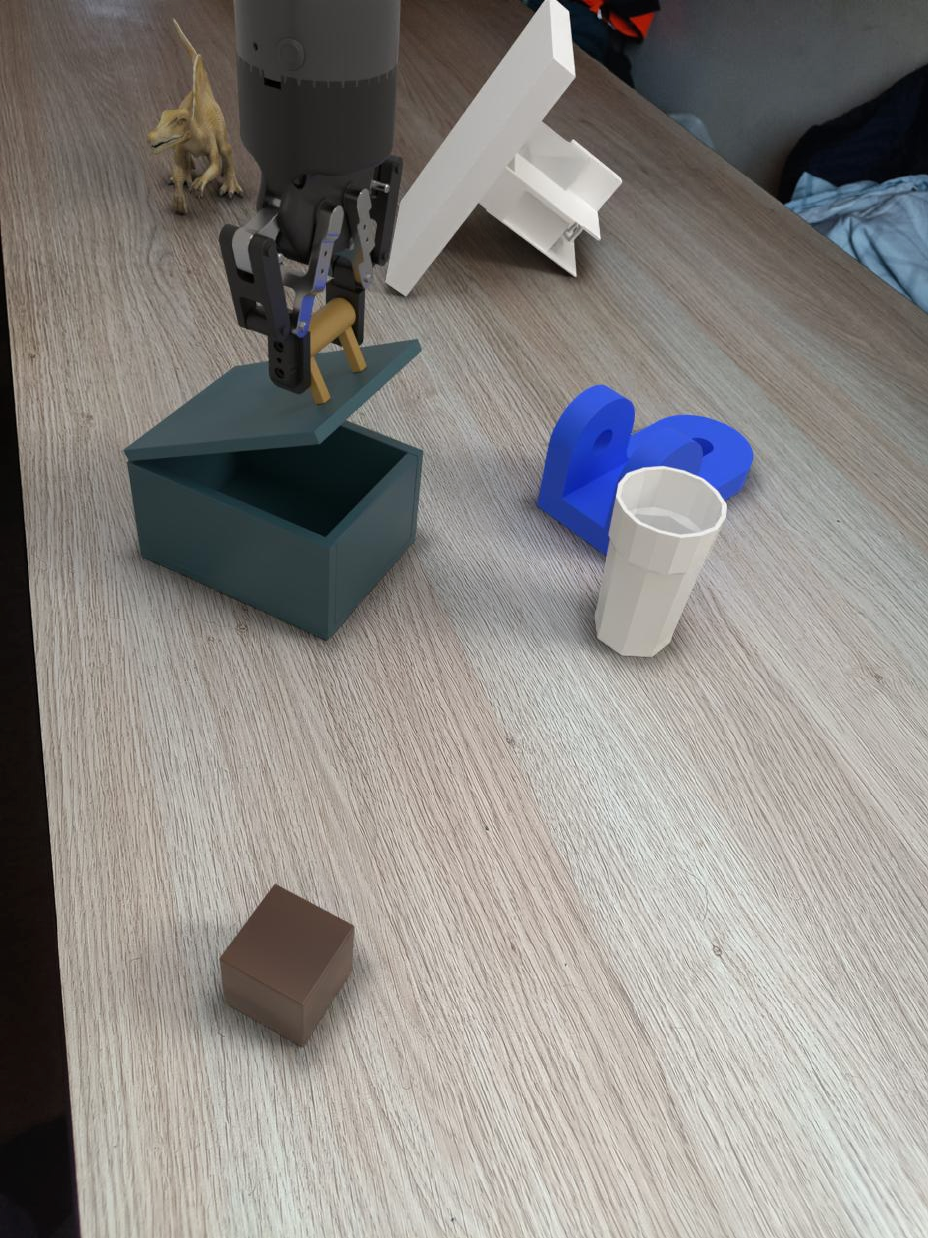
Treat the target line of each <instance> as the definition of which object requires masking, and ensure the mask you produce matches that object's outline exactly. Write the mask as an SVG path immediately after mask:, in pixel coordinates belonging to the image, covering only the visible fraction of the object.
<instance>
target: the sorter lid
mask: <svg viewBox="0 0 928 1238" xmlns="http://www.w3.org/2000/svg"><path fill="white" fill-rule="evenodd" d="M355 319H356V314H355V310H354V308H353V306H352V305H351V303H350V302H349V301H347V300H346V299H344V298H340V297H337V298H334V299H332V300H331V301H330V302H328V303H327V304H326V303H325V304H324V305H323V306H321V307H320V308H319V309H318V310H316V311H315V312H314V313H312V314H311V319H310V324H309V328H308V331H310V338H311V385H310V387H309V388H308V389H307V390H306V391H304V392H303V393H302V394H296V393H293V392H290V391H288V390H285V389H283V388H280V387H278V386H276V385H275V384H274V383H273V382H272V381H271V379H270V376H269V363H268V360H267V361H261V362H254V363H246V364H240V365H233V367H232V368H230V369H229V370H227V371H226V372H225V373H223V374H222V375H221V376H220V377H218V378H217V379H215V380H214V381H213V382H212V383H210V384H209V385H208V386H206V387H204V389H202V390H201V391H200V392H198V393H197V394H196V395H194V396H193V397H191V398H190V399H189V400H188V401H186V402H185V403H184V404H182V405H181V406H180V407H178V408H177V409H176V410H174V411H173V412H171V413H170V414H169V415H167V416H166V417H165V418H163V419H162V420H161V421H160V422H158V423H157V424H155V425H154V426H153V427H151V428H150V429H149V430H148V431H146V432H145V433H144V434H142V435H141V436H140V437H138V438H137V439H136V440H133V442H131V443H130V444H129V445H128V446H126V447H125V448H123V449H122V451H123V453H124V455H125V457H126V459H127V461H136V460H147V459H159V458H170V457H181V456H192V455H204V454H215V453H226V452H238V451H249V450H260V449H271V448H283V447H294V446H305V445H317V444H320V443H321V442H323V441H324V440H325V439H326V438H327V437H328V436H329V435H330V434H331V433H332V432H334V431H335V430H336V429H337V428H338V427H339V426H340V425H341V424H342V423H343V422H344V421H346V420H347V421H348V419H349V418H351V417H352V415H354V413H356V412H357V411H358V410H359V409H360V408H361V407H362V406H363V405H364V404H365V403H367V402H368V401H369V400H370V399H371V398H372V397H373V396H374V395H376V393H377V392H378V391H380V390H381V389H382V388H383V387H384V386H385V385H386V384H388V383H389V381H391V380H392V379H393V378H394V377H395V376H396V375H397V374H399V372H401V371H402V370H403V369H404V368H405V367H406V366H408V364H410V362H412V361H413V360H414V359H415V358H416V357H417V356H418V355H419V354H420V353H422V352H423V349H422V346H421V343H420V341H419V339H418V338H414V339H407V340H401V341H400V340H399V341H393V342H387V343H381V344H379V343H378V344H373V345H366V346H359V345H358V343H357V340H356V337H355V335H354V332H353V330H352V327H351V326H352V325H353V324H354V322H355ZM337 337H339V340H340V342H341V345H342V347H341V348H342V349H341V350H340V349H339V350H333V351H327V352H322V350H324V349H325V348H326V347H327V346H329V345H330V344H332V343H331V342H332V341H333V340H334V339H336V338H337Z"/></svg>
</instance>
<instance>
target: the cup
mask: <svg viewBox="0 0 928 1238" xmlns="http://www.w3.org/2000/svg"><path fill="white" fill-rule="evenodd" d="M727 505H728V504H727V503H726V500H725V501H724V499H723V498H722V496H721V495H720V493H719V492H718V491H717V490H716V489H715V488H714V487H713V486H712V485H710V484H709V483H708V482H707V481H706V480H705V479H703V478H701V477H698V476H696V475H694V474H691V473H689V472H686V471H684V470H679V469H674V468H670V467H665V466H657V467H645V468H641V469H638V470H635V471H632V472H629V473H627V474H626V475H625V476H624V478H623V479H622V480H621V481H620V482H619V484H618V489H617V494H616V499H615V504H614V509H613V514H612V519H611V524H610V529H609V534H608V535H609V538H610V541H609V546H608V552H607V556H605V557H606V558H605V563H604V568H603V574H602V578H601V584H600V587H599V588H600V589H599V594H598V599H597V604H596V609H595V613H594V624H595V630H596V637H597V639H598V640H599V641H601V642H602V643H603V644H605V645H606V646H608V647H609V648H610V649H612V650H613V651H614V652H616V653H617V654H619V655H620V656H625V657H626V656H627V657H640V658H641V657H643V658H653V657H654V656H656V655H657V654H658V653H659V652H660V651H662V650H663V649H664V648H665V647H666V646H668V645H669V644H670V643H671V641H672V638H673V636H674V632H675V630H676V628H677V626H678V624H679V621H680V618H681V617H682V614H683V613H684V609H685V608H686V605H687V603H688V600H689V599H690V596H691V594H692V591H693V589H694V588H695V585H696V582H697V579H698V578H699V575H700V573H701V571H702V568H703V566H704V565H705V563H706V562H707V561H708V558H709V557H710V556H711V555H712V550H713V549H714V546H715V544H716V542H717V540H718V538H719V535H720V532H721V530H722V528H723V526H724V524H725V521H726V518H727V508H728V506H727Z"/></svg>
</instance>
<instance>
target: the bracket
mask: <svg viewBox="0 0 928 1238" xmlns="http://www.w3.org/2000/svg"><path fill="white" fill-rule="evenodd" d="M635 419H636V410H635V405H634V403H633V402H632V401H631V400H630V399H628V398H627V397H625V396H623V395H622V394H621V393H619V392H617V391H615V390H614V389H613V388H611V387H609V386H607V385H606V384H595V385H592V386H590V387H588V388H586V389H584V390H583V391H582V392H580V393H579V394H578V395H577V396H576V397H574V398H573V400H572V401H570V402H569V404H568V405H567V407H566V408H565V409H564V410H563V411H562V413H561V415H560V416H559V418H558V420H557V422H556V423H555V425H554V428H553V429H552V432H551V435H550V437H549V441H548V445H547V451H546V456H545V460H544V466H543V471H542V477H541V481H540V486H539V490H538V491H539V492H538V496H537V497H538V498H537V502H536V507H538V508H539V509H540V510H541V511H544V513H546V514H548V515H549V516H550V517H551V518H553V519H554V520H556V521H557V522H558V523H560V524H561V525H563V526H564V527H565V528H567V529H568V530H570V531H571V532H572V533H573V534H575V535H577V536H578V537H579V538H581V539H582V540H583V541H585V542H586V543H587V544H589V545H590V546H592V547H593V548H594V549H596V550H597V551H598V552H600V553H601V554H603V555H604V556H605V557H607V552H608V546H609V541H610V538H609V535H608V534H609V529H610V524H611V519H612V514H613V509H614V504H615V499H616V494H617V489H618V484H619V482H620V481H621V480H622V479H623V478H624V476H625V475H626V474H627V473H629V472H632V471H635V470H638V469H641V468H645V467H657V466H665V467H670V468H674V469H679V470H684V471H686V472H689V473H691V474H694V475H696V476H698V477H701V478H703V479H705V480H706V481H707V482H708V483H709V484H710V485H712V486H713V487H714V488H715V489H716V490H717V491H718V492H719V493H720V495H721V496H722V498H723V499H724V501H725V502H726V501H727V500H728V499H730V498H731V497H733V496H735V495H736V494H738V493H739V492H740V491H742V489H743V488H744V486H745V483H746V482H747V481H746V480H747V477H748V476H749V472H750V470H751V468H752V465H753V462H754V451H753V447H752V445H751V444H750V442H749V441H748V440H747V438H746V437H745V436H744V435H743V434H742V433H740V432H739V431H738V430H737V429H735V428H734V427H731V426H730V425H728V424H726V423H724V422H721V421H719V420H717V419H714V418H710V417H707V416H702V415H695V414H675V415H670V416H667V417H664V418H660V419H658V420H657V421H655V422H654V423H652V424H650V425H647V426H646V427H644V428H642V429H640V430H639V431H636V432H634V433H633V429H634V425H635ZM632 433H633V434H632Z"/></svg>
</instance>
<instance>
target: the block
mask: <svg viewBox="0 0 928 1238" xmlns="http://www.w3.org/2000/svg"><path fill="white" fill-rule="evenodd" d="M355 927H356V926H355V925H354V924H352V923H350V922H348V921H347V920H345V919H342V918H341V917H339V916H337V915H335V914H333V913H331V912H330V911H328V910H326V909H324V908H322V907H320V906H318V905H316V904H315V903H312V902H310V901H309V900H306V899H305V898H303V897H301V896H300V895H297V894H296V893H294V892H292V891H289V890H288V889H286V888H284V887H282V886H281V885H279V884H277V883H274V884H273V885H272V887H271V888H270V889H269V891H268V892H267V893H266V895H265V896H264V898H263V899H262V900H261V901H260V903H259V904H258V906H257V907H256V908H255V909H254V911H253V913H252V914H251V915H250V916H249V918H248V919H246V922H245V923H244V924H243V926H242V927H241V928H240V930H239V931H238V932H237V934H236V935H235V936H234V938H233V939H232V941H230V943H229V945H228V946H227V947H226V948H225V950H224V951H223V953H222V954H221V955H220V956H219V958H218V960H219V967H220V975H221V976H220V977H221V983H222V993H223V999H224V1004H226V1005H228V1006H230V1007H232V1008H233V1009H235V1010H237V1011H239V1012H240V1013H242V1014H243V1015H245V1016H248V1018H250V1019H253V1020H254V1021H256V1022H258V1023H259V1024H261V1025H263V1026H265V1027H266V1028H268V1029H270V1030H272V1031H274V1032H275V1033H277V1034H279V1035H281V1036H282V1037H284V1038H286V1039H287V1040H289V1041H291V1042H293V1043H294V1044H296V1045H297V1046H300V1047H302V1048H304V1047H305V1045H306V1044H307V1043H308V1041H309V1039H310V1038H311V1036H312V1034H313V1033H314V1031H315V1029H316V1028H317V1027H318V1025H319V1023H320V1022H321V1020H322V1019H323V1017H324V1015H325V1014H326V1012H327V1011H328V1009H329V1008H330V1006H331V1004H332V1003H333V1001H334V1000H335V998H336V997H337V995H338V993H339V992H340V990H342V989H341V988H342V987H343V986H344V984H345V983H346V981H347V979H348V977H349V976H350V975H351V974H352V972H353V961H354V959H353V958H354V946H355V945H354V944H355V943H354V941H355Z"/></svg>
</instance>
